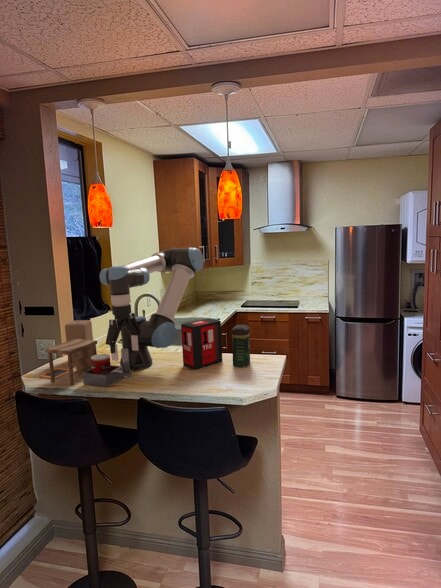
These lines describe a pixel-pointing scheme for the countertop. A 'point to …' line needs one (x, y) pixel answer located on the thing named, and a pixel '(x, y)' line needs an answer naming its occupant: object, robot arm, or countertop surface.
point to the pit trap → (56, 373)
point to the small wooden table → (82, 355)
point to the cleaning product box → (201, 343)
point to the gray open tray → (110, 377)
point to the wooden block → (78, 332)
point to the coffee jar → (241, 346)
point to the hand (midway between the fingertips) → (125, 355)
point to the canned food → (101, 364)
